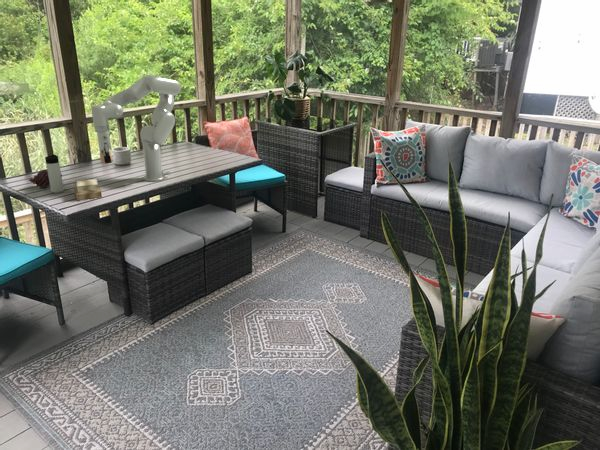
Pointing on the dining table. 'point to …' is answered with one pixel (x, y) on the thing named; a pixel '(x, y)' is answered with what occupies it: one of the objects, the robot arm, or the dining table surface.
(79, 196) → the oak base block
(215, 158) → the dining table surface
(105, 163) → the terracotta round block
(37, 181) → the pine cone
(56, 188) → the travel mug
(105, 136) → the robot arm
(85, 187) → the maple top block
